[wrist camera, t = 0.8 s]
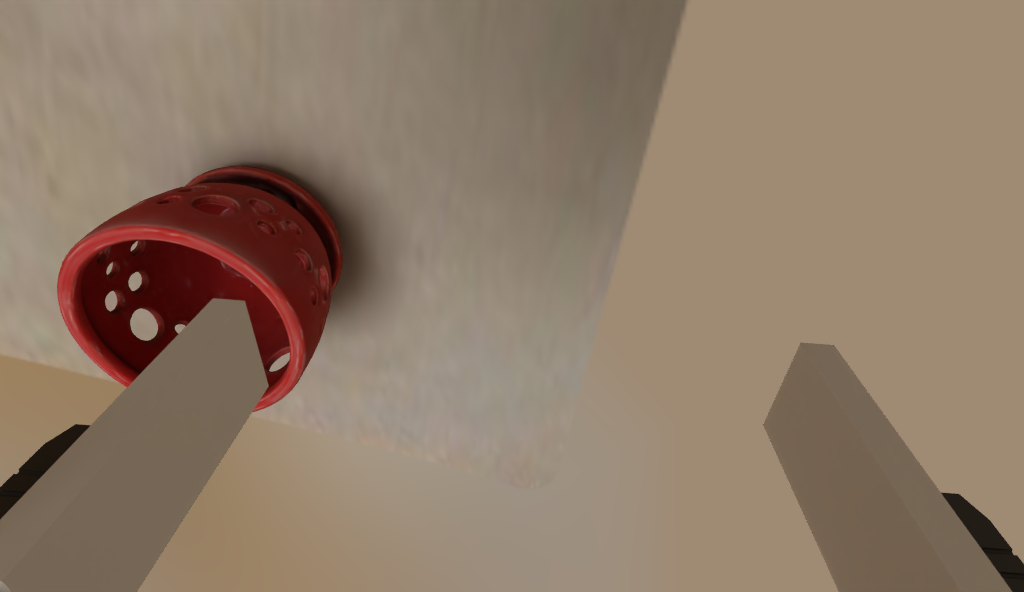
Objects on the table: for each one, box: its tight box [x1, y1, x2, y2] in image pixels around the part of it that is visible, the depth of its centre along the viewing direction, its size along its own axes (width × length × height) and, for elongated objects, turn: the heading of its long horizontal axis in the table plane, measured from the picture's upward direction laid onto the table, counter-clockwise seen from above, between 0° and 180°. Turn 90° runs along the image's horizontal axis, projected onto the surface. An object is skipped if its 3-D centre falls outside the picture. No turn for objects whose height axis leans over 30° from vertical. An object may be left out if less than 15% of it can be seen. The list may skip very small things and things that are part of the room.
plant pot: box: [57, 166, 343, 412], centre depth 33 cm, size 13×13×12 cm
